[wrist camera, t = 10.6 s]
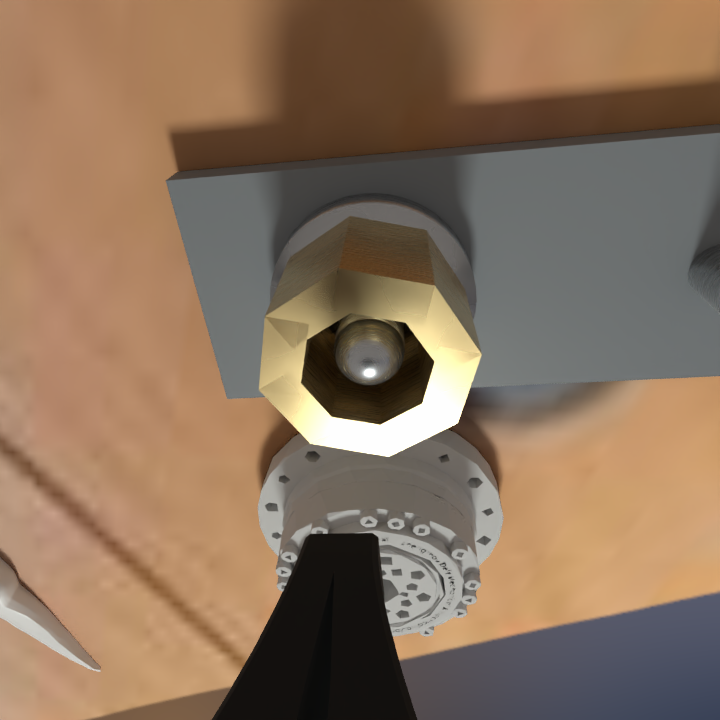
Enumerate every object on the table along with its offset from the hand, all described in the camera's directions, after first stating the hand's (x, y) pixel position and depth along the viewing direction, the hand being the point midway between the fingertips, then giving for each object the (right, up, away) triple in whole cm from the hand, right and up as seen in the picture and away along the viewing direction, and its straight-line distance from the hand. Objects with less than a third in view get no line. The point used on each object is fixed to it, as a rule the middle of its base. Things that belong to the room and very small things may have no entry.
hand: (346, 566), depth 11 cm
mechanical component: (+1, -2, +13) cm, 13 cm away
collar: (+1, +6, +5) cm, 8 cm away
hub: (+1, +6, +6) cm, 9 cm away
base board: (+5, +7, +6) cm, 11 cm away
